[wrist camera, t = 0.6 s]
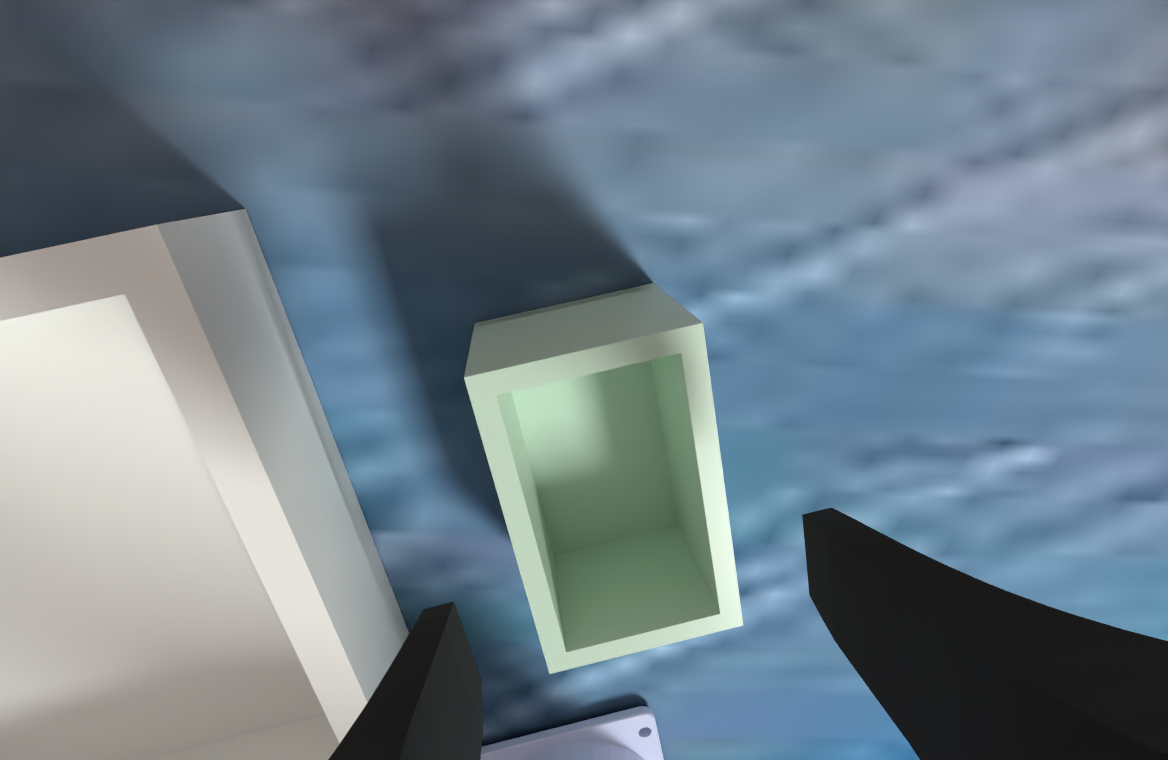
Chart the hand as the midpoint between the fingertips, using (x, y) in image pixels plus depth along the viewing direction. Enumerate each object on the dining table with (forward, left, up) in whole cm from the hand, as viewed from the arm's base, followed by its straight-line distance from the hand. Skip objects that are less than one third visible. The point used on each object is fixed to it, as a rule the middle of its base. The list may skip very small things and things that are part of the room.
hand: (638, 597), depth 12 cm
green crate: (0, 0, -8) cm, 8 cm away
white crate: (0, +16, -8) cm, 18 cm away
